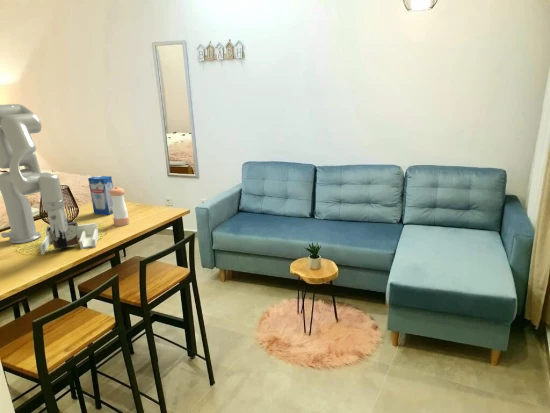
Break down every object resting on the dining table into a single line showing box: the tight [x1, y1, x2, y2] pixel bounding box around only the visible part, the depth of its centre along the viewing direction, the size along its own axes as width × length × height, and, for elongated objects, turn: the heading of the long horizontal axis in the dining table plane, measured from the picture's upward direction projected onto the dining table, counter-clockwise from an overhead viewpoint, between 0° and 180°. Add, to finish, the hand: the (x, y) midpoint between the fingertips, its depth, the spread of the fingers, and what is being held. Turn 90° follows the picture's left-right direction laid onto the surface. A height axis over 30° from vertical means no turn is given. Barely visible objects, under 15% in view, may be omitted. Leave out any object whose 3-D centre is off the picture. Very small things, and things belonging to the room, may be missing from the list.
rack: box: [39, 222, 99, 255], centre depth 178 cm, size 21×16×6 cm
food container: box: [46, 220, 79, 250], centre depth 174 cm, size 12×6×10 cm, turn 137°
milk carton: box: [87, 175, 114, 216], centre depth 221 cm, size 10×6×20 cm, turn 73°
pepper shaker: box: [110, 186, 130, 227], centre depth 202 cm, size 7×7×19 cm
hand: (63, 247), depth 170 cm, fingers closed
